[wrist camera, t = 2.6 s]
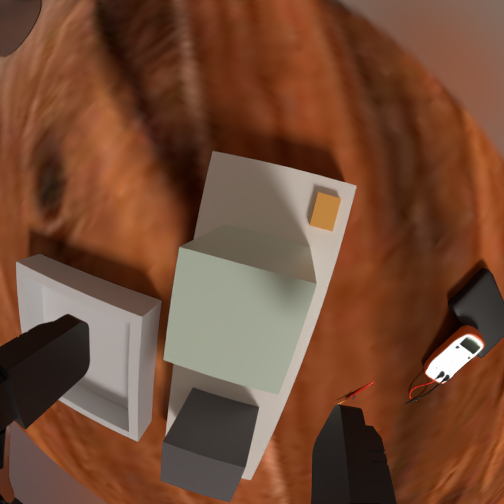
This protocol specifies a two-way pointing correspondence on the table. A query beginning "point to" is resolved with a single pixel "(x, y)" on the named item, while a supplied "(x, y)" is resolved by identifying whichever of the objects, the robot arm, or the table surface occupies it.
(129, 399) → the tray
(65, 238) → the table surface
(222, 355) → the block
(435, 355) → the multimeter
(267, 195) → the flat gray board
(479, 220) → the table surface
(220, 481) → the block
